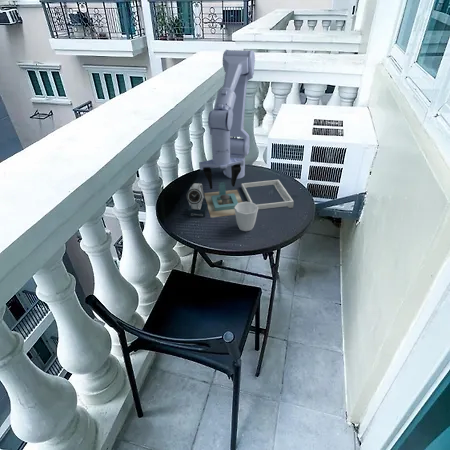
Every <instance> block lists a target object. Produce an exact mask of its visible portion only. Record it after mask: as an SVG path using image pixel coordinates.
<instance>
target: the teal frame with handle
mask: <svg viewBox="0 0 450 450" xmlns="http://www.w3.org/2000/svg"><path fill="white" fill-rule="evenodd" d="M226 188H227V187H226V182H225V181H220V182H218V192H219V195H214V196H211V199H212V202H213V205H214V209H215V211H220V210H228V209H234V207H235V206H236V205H237V204H238V201H237V199H236V196H235V194H234V193H233V194H226V191H227V189H226ZM221 195H229V199H231V201H232V204H223V205H219V204H218V201H217V200H222V199H221V198H220V196H221Z"/></svg>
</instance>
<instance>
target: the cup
mask: <svg viewBox="0 0 450 450" xmlns="http://www.w3.org/2000/svg"><path fill="white" fill-rule="evenodd" d="M256 205H257V204H256V203H254V202H253V203H251V202H248V200H247V201H242V202H241V203H238V204H237V205H236V206H235V207H234V209H235V215H234V216H235V221H236V224H237V227H238V228H239V230H240V231H242V232H249V231H252V230H253V228H254V227H255V225H256V221H257V216H258V211H259V210H258V207H257V206H256Z"/></svg>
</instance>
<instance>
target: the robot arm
mask: <svg viewBox="0 0 450 450" xmlns="http://www.w3.org/2000/svg"><path fill="white" fill-rule="evenodd" d="M255 56H256V55H255V52H254V51H253V49H250V50H244V49H243V50H242V49H241V50H238V49H237V50H235V49H233V50H232V49H225V50H224V51H223V54H222V67H223V71H224V73H225V75H224V81H223V85H222V88H220V90H218V92H217V96H216V100H215V103H214V106H213V109H212V110H211V111H210V112H209V114H208V117H207V118H208V121H207V123H208V125H207V126H208V128H209V134H210V136H211V153H212V159H208V160H205V161H199V162H198V163H199V164H198V166H199V170H200V171H203V173H204V176H205V177H206V180H207V181H208V185H209V189H210V190H212V189H213V180H212V179H213V177H212V175H213V173H212V169H215V168H220V169H224V170H223V171H222V172H223V174H224V175H223V176H226V177H227V178H229V179H231V181H230V182H231V183H230V184H231V186H232V188H233V187H234V188H235V186H236V181H237V180H238V179H242V178H244V177H245V175H246V172H245V171H246V157H247V156H248V155H249V153H250V149H251V148H250V147H251V143H250V141H251V140H250V138H251V137H250V134H249V133H248V132H247V131H246V130H245V129H244V122H245V111H246V97H247V89H248V83H249V81H250V80H252V79H253V77H254V74H255V64H256V63H255V62H256V60H255V59H256V57H255Z"/></svg>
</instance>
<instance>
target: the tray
mask: <svg viewBox="0 0 450 450" xmlns="http://www.w3.org/2000/svg"><path fill="white" fill-rule="evenodd" d="M272 185H273V186H274V188H275V189H276V190H277V192H278V194H279V195H280V197H281V198H282V200H283V201H278V202H270V203H260V204H259V203H257V204H256V206H257V207H258V211H259V210H265V209H273V208H276V209H277V208H283V207H284V208H285V207H288V209H293V208H294V205H295V204H294V200H293V197H291V195H290V194H289V193H288V191H287V189H286V188H285V187H284V185H283V184H282V182H281V181H280V179H273V180H272V179H271V180H263V181H253V182H252V181H251V182H244V183H241V189H242V191H243V193H244V196H245V198H246V200H247V202H251V203H254V202H253V200H252V199H251V196H250V194H249V192H248V190H247V188H255V187H261V186H262V187H264V186H265V187H266V186H272Z"/></svg>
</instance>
